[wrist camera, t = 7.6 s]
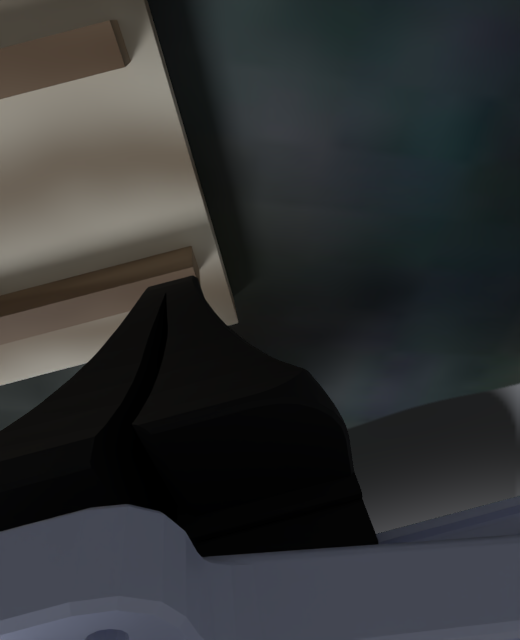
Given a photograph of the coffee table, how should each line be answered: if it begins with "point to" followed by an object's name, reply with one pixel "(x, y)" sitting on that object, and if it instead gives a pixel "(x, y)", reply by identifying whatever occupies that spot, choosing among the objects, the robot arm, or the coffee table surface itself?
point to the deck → (91, 182)
